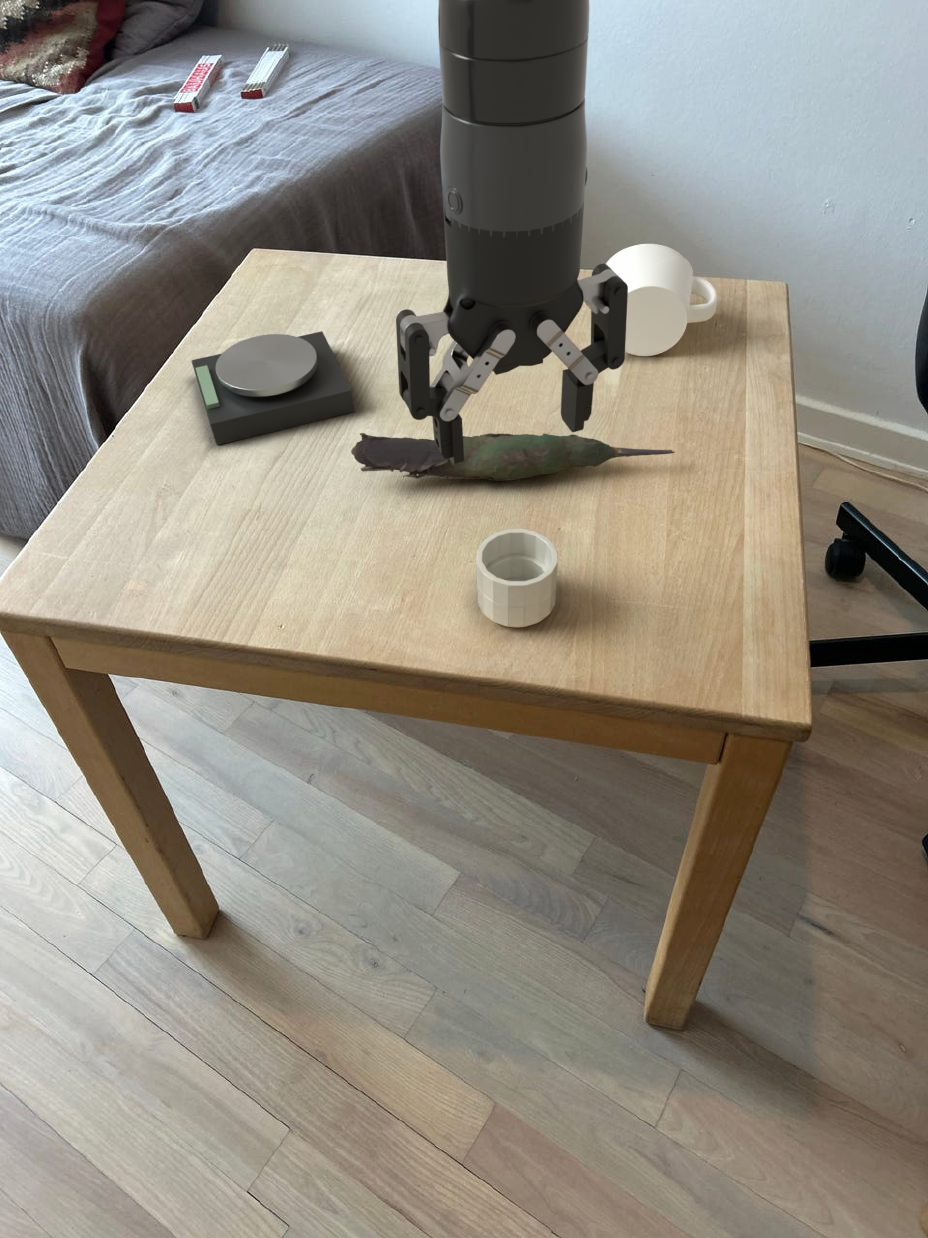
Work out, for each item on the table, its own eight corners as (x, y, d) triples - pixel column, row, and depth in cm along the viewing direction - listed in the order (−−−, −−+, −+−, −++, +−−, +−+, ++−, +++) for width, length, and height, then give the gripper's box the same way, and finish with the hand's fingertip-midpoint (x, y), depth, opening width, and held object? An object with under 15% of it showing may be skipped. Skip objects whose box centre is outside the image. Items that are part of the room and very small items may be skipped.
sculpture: (358, 463, 82) (351, 419, 79) (666, 449, 82) (674, 403, 78) (355, 497, 79) (348, 452, 75) (676, 482, 79) (685, 437, 75)
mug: (597, 355, 93) (603, 284, 87) (598, 309, 99) (604, 240, 93) (713, 358, 92) (727, 286, 86) (706, 312, 98) (719, 241, 92)
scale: (216, 445, 85) (208, 419, 83) (197, 380, 93) (189, 355, 90) (355, 411, 88) (351, 386, 86) (325, 351, 95) (321, 326, 93)
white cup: (494, 640, 68) (494, 594, 64) (467, 587, 71) (465, 540, 67) (567, 618, 69) (570, 571, 65) (536, 567, 73) (538, 520, 69)
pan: (227, 406, 84) (225, 399, 83) (209, 353, 90) (207, 346, 89) (328, 382, 86) (327, 375, 85) (304, 332, 92) (303, 325, 91)
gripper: (603, 143, 50) (585, 386, 62) (364, 191, 47) (395, 435, 60) (668, 194, 46) (635, 446, 58) (407, 251, 43) (431, 503, 55)
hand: (513, 440), depth 59 cm, fingers open, 8 cm apart
